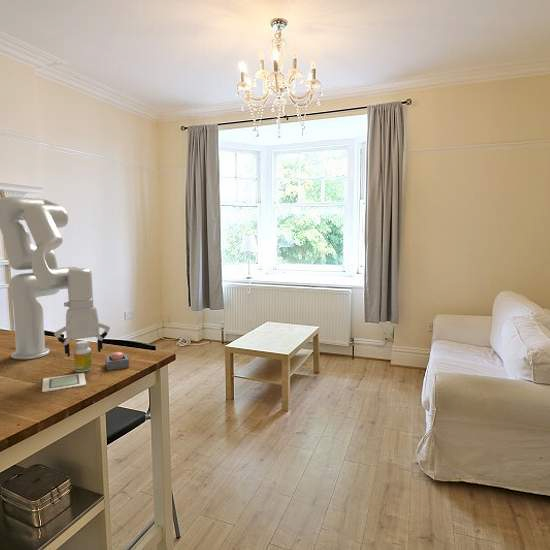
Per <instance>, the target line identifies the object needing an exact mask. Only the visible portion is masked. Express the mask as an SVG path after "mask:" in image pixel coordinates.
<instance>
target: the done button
mask: <svg viewBox="0 0 550 550" xmlns="http://www.w3.org/2000/svg"><path fill="white" fill-rule="evenodd" d="M123 354H124V352H122V351H115V352H112V353H110V356H111V361H113V360H121V359H123Z"/></svg>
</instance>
